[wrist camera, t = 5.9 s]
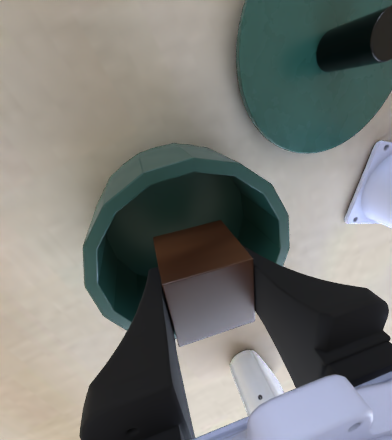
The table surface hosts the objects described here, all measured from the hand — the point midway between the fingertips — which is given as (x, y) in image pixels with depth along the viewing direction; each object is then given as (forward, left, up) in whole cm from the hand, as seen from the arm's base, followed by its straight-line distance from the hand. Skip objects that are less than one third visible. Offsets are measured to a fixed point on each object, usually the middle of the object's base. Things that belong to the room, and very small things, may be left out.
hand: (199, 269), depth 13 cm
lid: (-9, -13, -6) cm, 17 cm away
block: (0, 0, -1) cm, 1 cm away
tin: (0, 0, -6) cm, 6 cm away
